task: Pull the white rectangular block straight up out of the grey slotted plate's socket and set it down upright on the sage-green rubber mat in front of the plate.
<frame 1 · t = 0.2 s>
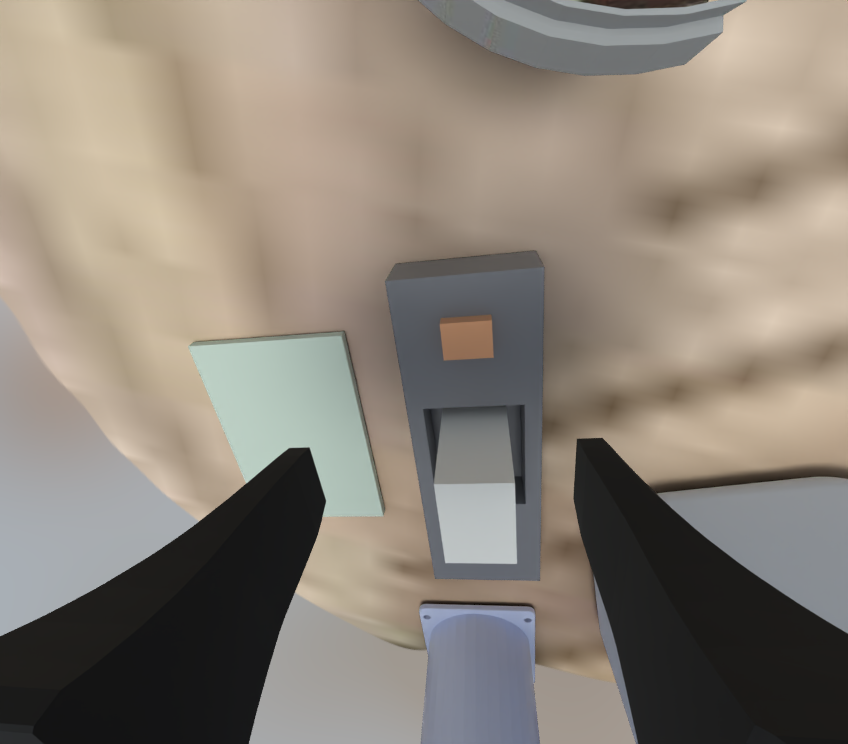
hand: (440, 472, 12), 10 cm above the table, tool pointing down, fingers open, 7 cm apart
rubber mat: (298, 433, 24), on the table
plastic bottle: (719, 563, 26), on the table
white rectangular block: (476, 433, 22), resting on grey slotted plate
grey slotted plate: (476, 427, 23), on the table
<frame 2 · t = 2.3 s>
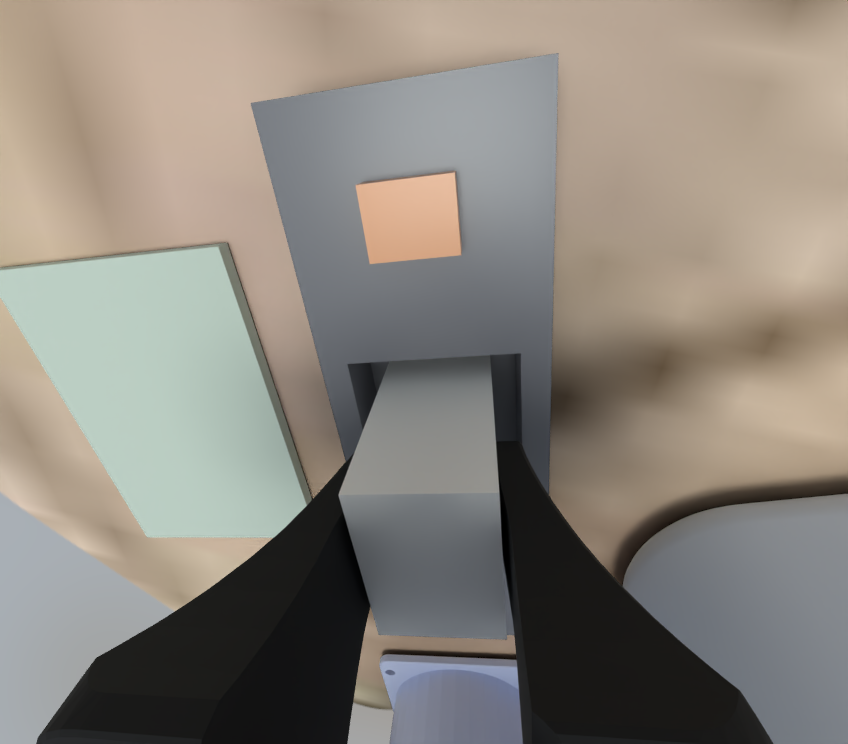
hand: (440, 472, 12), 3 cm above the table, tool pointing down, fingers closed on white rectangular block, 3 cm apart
rubber mat: (183, 415, 16), on the table
plastic bottle: (807, 607, 18), on the table
white rectangular block: (447, 412, 14), resting on grey slotted plate, touching gripper
grey slotted plate: (447, 403, 15), on the table
when the fingers open (5 cm above the table, at t = 6.0 s): white rectangular block stays where it is, resting on rubber mat.
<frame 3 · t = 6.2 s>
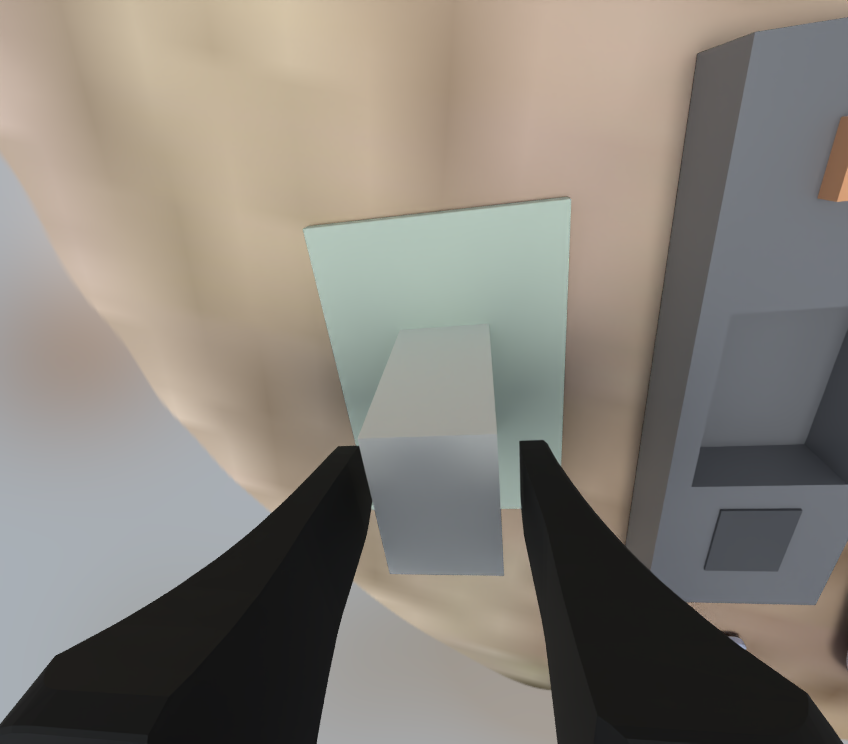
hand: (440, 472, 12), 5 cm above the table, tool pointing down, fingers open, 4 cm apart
rubber mat: (450, 381, 16), on the table
white rectangular block: (449, 384, 15), resting on rubber mat
grey slotted plate: (746, 366, 14), on the table
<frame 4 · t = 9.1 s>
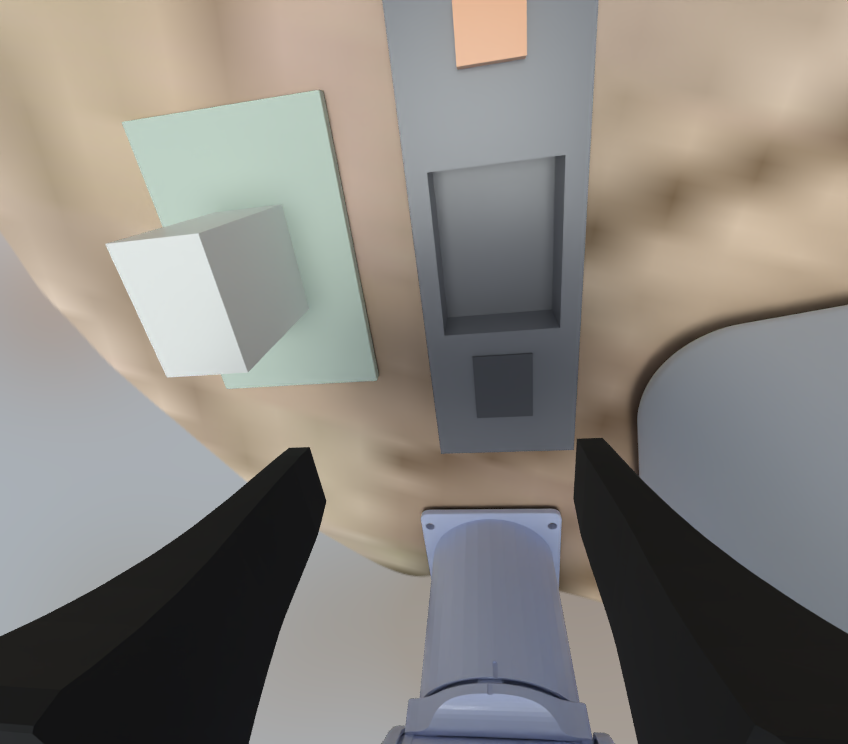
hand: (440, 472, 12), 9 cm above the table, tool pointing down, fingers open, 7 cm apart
rubber mat: (269, 263, 19), on the table
plastic bottle: (794, 439, 21), on the table
white rectangular block: (263, 262, 19), resting on rubber mat
grey slotted plate: (495, 240, 18), on the table
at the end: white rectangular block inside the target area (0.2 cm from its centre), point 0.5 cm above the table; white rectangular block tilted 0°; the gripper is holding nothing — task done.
